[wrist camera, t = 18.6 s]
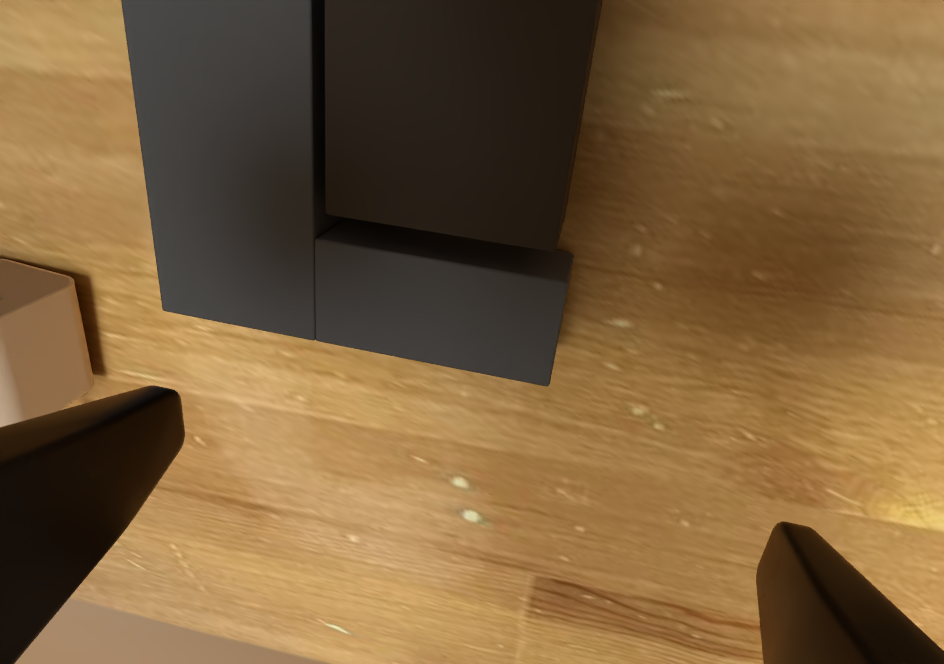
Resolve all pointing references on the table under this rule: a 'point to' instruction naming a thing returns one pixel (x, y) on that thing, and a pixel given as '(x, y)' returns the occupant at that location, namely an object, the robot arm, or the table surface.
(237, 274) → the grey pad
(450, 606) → the table surface
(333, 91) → the black pad
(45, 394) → the usb wall charger
